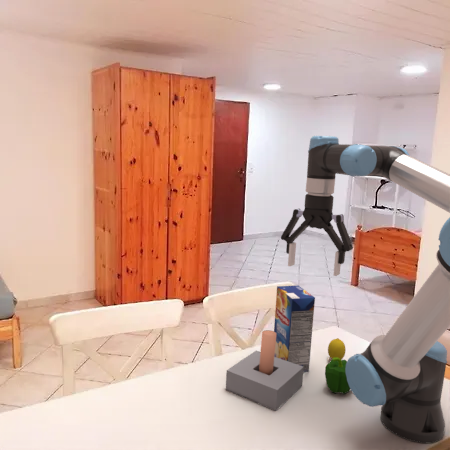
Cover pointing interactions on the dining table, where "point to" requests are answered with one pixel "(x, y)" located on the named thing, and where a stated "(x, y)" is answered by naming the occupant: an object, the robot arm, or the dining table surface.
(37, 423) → the dining table surface
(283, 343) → the juice carton
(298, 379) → the hole block
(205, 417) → the dining table surface
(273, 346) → the pin
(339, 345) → the lemon
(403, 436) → the robot arm
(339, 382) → the bell pepper
